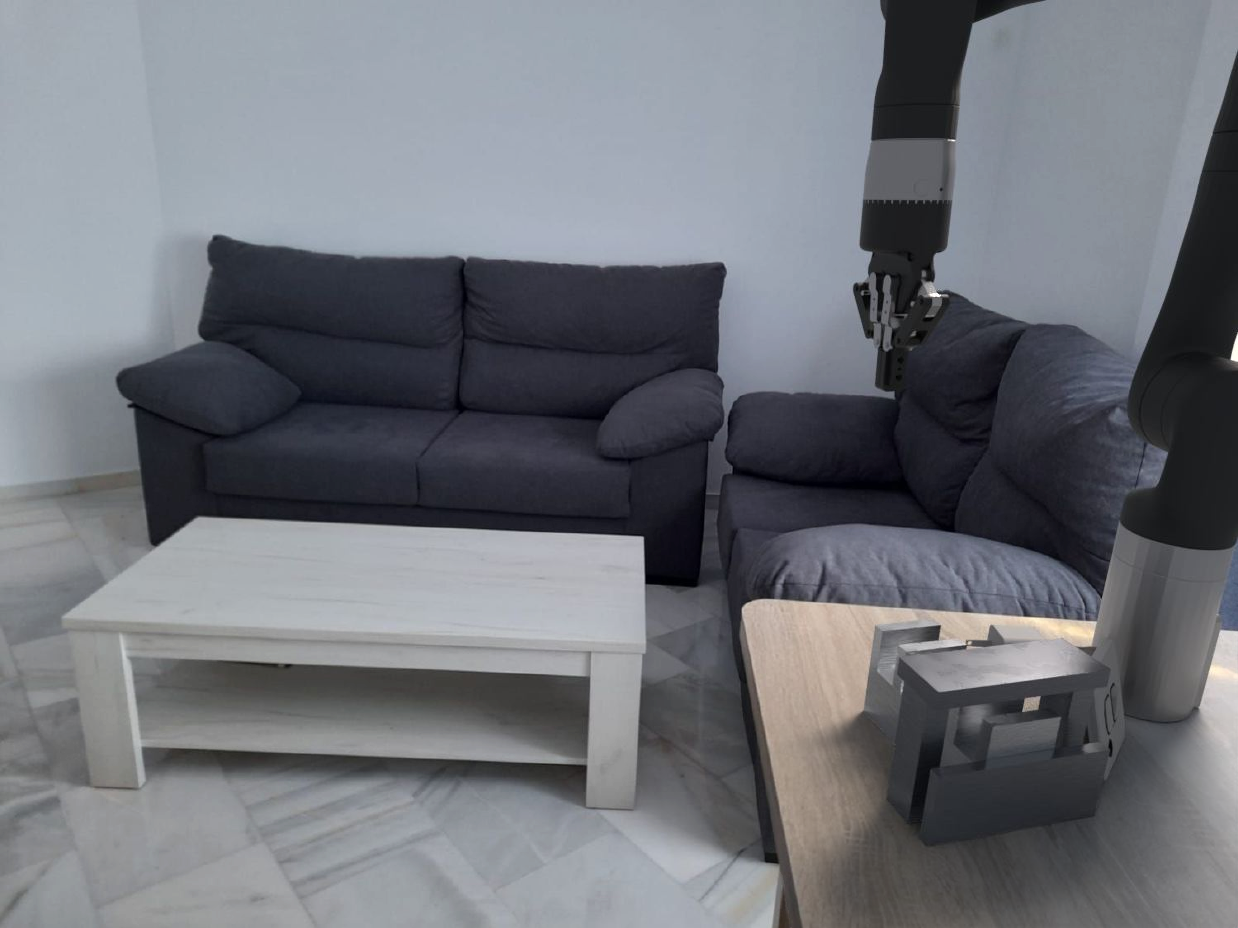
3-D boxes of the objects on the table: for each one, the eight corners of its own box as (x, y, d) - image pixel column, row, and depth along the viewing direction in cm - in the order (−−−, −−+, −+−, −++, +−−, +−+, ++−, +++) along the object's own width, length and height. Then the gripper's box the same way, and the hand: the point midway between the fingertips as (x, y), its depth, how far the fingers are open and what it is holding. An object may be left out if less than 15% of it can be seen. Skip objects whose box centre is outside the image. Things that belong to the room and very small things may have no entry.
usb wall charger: (1042, 678, 88) (1049, 642, 87) (973, 675, 88) (979, 639, 87) (1025, 658, 92) (1032, 623, 91) (959, 655, 92) (965, 620, 91)
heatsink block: (919, 704, 83) (933, 618, 80) (1039, 816, 68) (1060, 716, 66) (863, 712, 81) (875, 624, 79) (973, 829, 67) (992, 726, 64)
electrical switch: (1104, 788, 72) (1115, 684, 70) (1036, 767, 75) (1045, 667, 73) (1125, 737, 79) (1136, 642, 77) (1063, 720, 82) (1071, 628, 80)
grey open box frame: (1036, 764, 74) (1062, 637, 71) (1094, 815, 68) (1126, 679, 65) (879, 789, 70) (899, 657, 67) (927, 846, 64) (951, 703, 61)
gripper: (992, 196, 72) (967, 403, 77) (905, 196, 84) (887, 374, 89) (910, 196, 70) (889, 408, 75) (833, 195, 82) (820, 377, 87)
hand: (888, 389), depth 82 cm, fingers closed
